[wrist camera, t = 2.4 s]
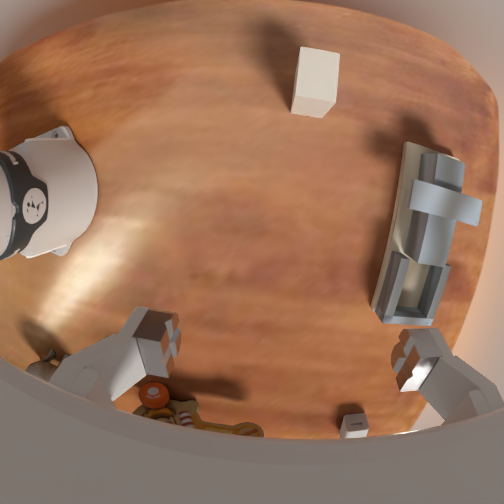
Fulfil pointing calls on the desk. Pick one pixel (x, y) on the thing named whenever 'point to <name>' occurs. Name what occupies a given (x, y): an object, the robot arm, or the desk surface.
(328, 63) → the cream upright slab block
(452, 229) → the jig
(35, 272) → the desk surface
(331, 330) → the desk surface
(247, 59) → the desk surface
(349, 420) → the usb wall charger
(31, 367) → the rhinoceros figurine
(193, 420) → the toy helicopter
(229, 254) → the desk surface
